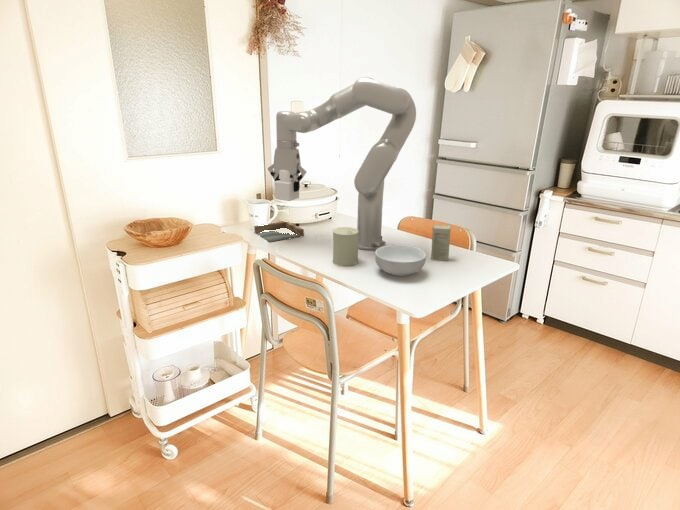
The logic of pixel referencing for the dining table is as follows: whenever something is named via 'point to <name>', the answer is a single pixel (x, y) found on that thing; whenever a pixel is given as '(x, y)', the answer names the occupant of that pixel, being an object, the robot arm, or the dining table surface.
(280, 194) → the medicine bottle
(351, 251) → the can
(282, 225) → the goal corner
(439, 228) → the skincare box
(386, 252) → the cereal bowl
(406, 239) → the dining table surface
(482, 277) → the dining table surface
